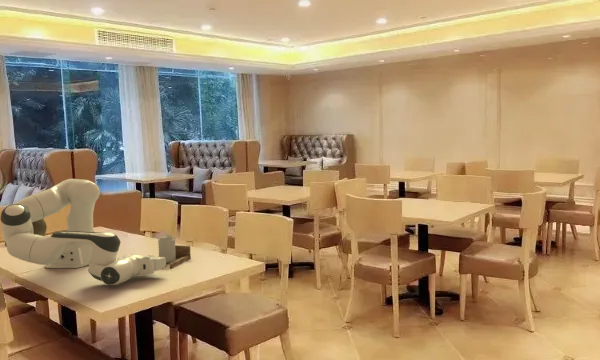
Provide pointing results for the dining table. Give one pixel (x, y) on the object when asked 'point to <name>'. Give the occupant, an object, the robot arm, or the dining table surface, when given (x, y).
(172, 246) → the can
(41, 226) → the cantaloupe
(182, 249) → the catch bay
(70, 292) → the dining table surface
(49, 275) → the dining table surface
